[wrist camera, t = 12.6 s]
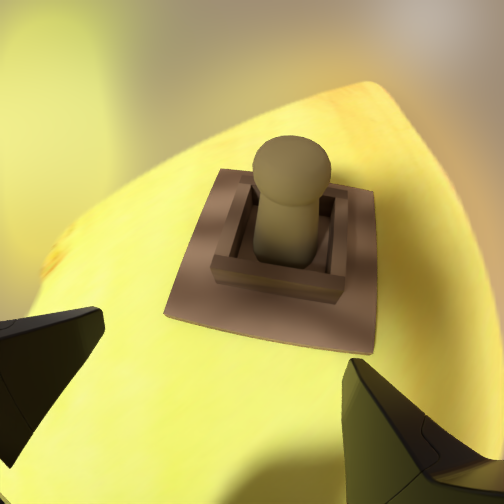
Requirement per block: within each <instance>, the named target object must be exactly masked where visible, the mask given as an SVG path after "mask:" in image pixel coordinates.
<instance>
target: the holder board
mask: <svg viewBox="0 0 504 504" xmlns="http://www.w3.org/2000/svg"><path fill="white" fill-rule="evenodd" d="M260 193H261V192H260V191H259V189H258V187H257V186H256V183H255V181H254V176H253V172H250V171H241V170H231V169H220V171H219V173H218V176H217V178H216V180H215V182H214V185H213V187H212V189H211V191H210V194H209V196H208V198H207V201H206V203H205V205H204V208H203V210H202V213H201V215H200V217H199V220H198V222H197V225H196V227H195V230H194V232H193V235H192V237H191V240H190V242H189V245H188V247H187V250H186V252H185V255H184V257H183V260H182V263H181V265H180V268H179V271H178V273H177V276H176V279H175V282H174V284H173V287H172V290H171V293H170V295H169V298H168V301H167V304H166V307H165V310H164V313H163V314H164V315H165V316H166V317H169V318H172V319H176V320H180V321H183V322H187V323H191V324H195V325H199V326H203V327H207V328H211V329H215V330H220V331H224V332H228V333H233V334H237V335H242V336H247V337H252V338H257V339H262V340H267V341H272V342H278V343H283V344H289V345H295V346H301V347H307V348H314V349H321V350H328V351H336V352H344V353H352V354H361V355H371V354H373V349H374V338H375V324H376V304H377V242H376V222H375V208H374V196H373V191H368V190H363V189H359V188H354V187H348V186H343V185H338V184H332V183H329V185H328V187H327V188H326V190H325V191H324V193H323V195H322V196H321V197H320V198H319V220H318V244H317V253H316V256H315V258H314V260H313V261H312V263H311V264H310V265H308V266H307V267H306V268H305V269H303V270H302V269H296V268H291V267H285V266H279V265H273V264H267V263H261V262H259V261H258V260H257V258H256V256H255V254H254V252H253V238H254V232H255V225H256V219H257V212H258V206H259V200H260Z"/></svg>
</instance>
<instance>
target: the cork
mask: <svg viewBox="0 0 504 504" xmlns="http://www.w3.org/2000/svg"><path fill="white" fill-rule="evenodd" d="M253 176H254V181H255V183H256V186H257V187H258V189H259V191H260V192H261V193H260V200H259V206H258V212H257V219H256V225H255V232H254V238H253V252H254V254H255V256H256V258H257V260H258V261H259V262H261V263H267V264H273V265H279V266H285V267H291V268H296V269H302V270H303V269H305V268H306V267H307V266H308V265H310V264H311V263H312V261H313V260H314V258H315V256H316V253H317V244H318V220H319V198H320V197H321V196H322V195H323V193H324V191H325V190H326V188H327V187H328V185H329V182H330V178H331V163H330V160H329V158H328V156H327V154H326V152H325V150H324V149H323V148H322V147H321V146H320V145H319V144H317V143H315V142H314V141H312V140H310V139H307V138H304V137H299V136H280V137H276V138H272V139H271V140H269V141H267V142H265V143H264V144H263V145H262V146H261V147H260V148H259V150H258V151H257V153H256V155H255V158H254V161H253Z"/></svg>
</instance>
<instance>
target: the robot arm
mask: <svg viewBox="0 0 504 504" xmlns="http://www.w3.org/2000/svg"><path fill="white" fill-rule="evenodd" d="M104 332H105V324H104V317H103V312H102V310H101V309H100V308H97V307H94V306H91V307H85V308H80V309H74V310H68V311H63V312H57V313H51V314H45V315H39V316H33V317H27V318H20V319H18V320H17V319H14V320H7V321H0V459H1V460H2V461H3V462H4V463H5V465H6V466H7V467H8V468H9V469H11V467H12V466H13V465H14V463H15V461H16V460H17V458H18V457H19V455H20V453H21V452H22V450H23V449H24V447H25V445H26V444H27V442H28V441H29V439H30V438H31V436H32V435H33V432H34V431H35V430H36V428H37V427H38V426H39V424H40V423H41V421H42V420H43V418H44V417H45V415H46V414H47V413H48V411H49V410H50V408H51V407H52V406H53V404H54V403H55V401H56V400H57V399H58V397H59V396H60V395H61V393H62V392H63V391H64V389H65V388H66V387H67V385H68V384H69V383H70V381H71V380H72V379H73V377H74V376H75V375H76V373H77V372H78V371H79V369H80V368H81V367H82V366H83V364H84V363H85V362H86V360H87V359H88V357H89V356H90V354H91V353H92V351H93V349H94V348H95V346H96V345H97V343H98V342H99V340H100V339H101V337H102V336H103V334H104ZM341 421H342V433H343V444H344V457H345V473H346V494H347V504H504V460H492V459H488V458H485V457H483V456H481V455H480V454H478V453H477V452H475V451H474V450H472V449H471V448H469V447H468V446H466V445H465V444H463V443H462V442H461V441H459V440H458V439H456V438H455V437H453V436H452V435H451V434H449V433H448V432H447V431H445V430H444V429H443V428H441V427H440V426H439V425H438V424H437V423H435V422H434V421H433V420H432V419H431V418H430V417H428V416H427V415H426V416H425V413H424V412H423V411H421V410H420V409H419V408H418V407H417V406H416V405H414V404H413V403H412V402H411V401H410V400H409V399H408V398H406V397H405V396H404V395H403V394H402V393H401V392H400V391H398V390H397V389H396V388H395V387H394V386H393V385H392V384H390V383H389V382H388V381H387V380H386V379H385V378H384V377H383V376H381V375H380V374H379V373H378V372H377V371H376V370H375V369H373V368H372V367H371V366H370V365H369V364H368V363H367V362H365V361H364V360H363V359H359V358H351V359H350V360H349V362H348V365H347V368H346V370H345V373H344V376H343V379H342V419H341ZM0 504H11V503H10V502H9V501H8V500H7V499H6V498H5V497H4V496H3V495H2V494H1V493H0Z"/></svg>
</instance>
